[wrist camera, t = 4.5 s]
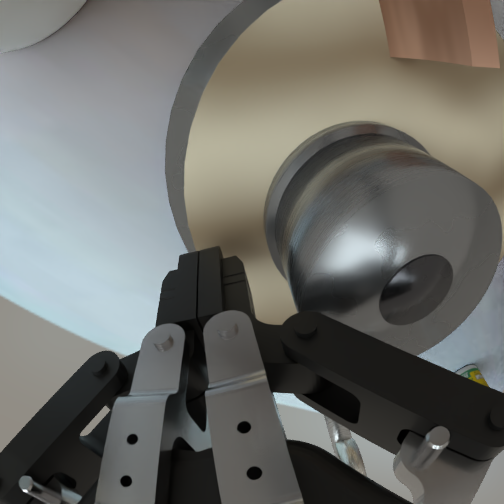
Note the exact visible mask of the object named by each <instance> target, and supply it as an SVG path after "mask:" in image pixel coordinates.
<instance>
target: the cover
mask: <svg viewBox="0 0 504 504" xmlns="http://www.w3.org/2000/svg"><path fill="white" fill-rule="evenodd" d="M263 222H264V232H265V238H266V241H267V245H268V248H269V251H270V254H271V257H272V260H273V262H274V264H275V266H276V268H277V269H278V270H279V272H280V273H281V275H282V276H283V277H284V278H285V279H286V280H287V281H288V285H289V288H290V291H291V294H292V297H293V300H294V303H295V307H296V310H297V313H299V312H304V311H314V312H319V313H321V314H324V315H326V316H328V317H330V318H332V319H334V320H337V321H339V322H341V323H343V324H345V325H348V326H350V327H352V328H354V329H356V330H359V331H361V332H363V333H365V334H367V335H370V336H372V337H374V338H376V339H378V340H381V341H383V342H385V343H387V344H390V345H392V346H394V347H396V348H399V349H401V350H403V351H406V352H408V353H410V354H412V355H415V356H417V355H419V354H421V353H423V352H425V351H426V350H428V349H430V348H431V347H433V346H435V345H436V344H438V343H439V342H440V341H442V340H443V339H444V338H446V337H447V336H448V335H449V334H451V333H452V332H453V331H454V330H455V329H456V328H457V327H458V326H459V325H460V324H461V323H462V322H463V321H464V320H465V319H466V318H467V317H468V316H469V315H470V314H471V312H472V311H473V310H474V309H475V307H476V306H477V305H478V303H479V302H480V300H481V299H482V297H483V296H484V294H485V293H486V291H487V289H488V287H489V285H490V283H491V281H492V279H493V276H494V274H495V272H496V269H497V266H498V262H499V259H500V254H501V249H502V224H501V219H500V215H499V212H498V209H497V206H496V205H495V203H494V201H493V199H492V198H491V196H490V195H489V194H488V193H487V192H486V191H485V190H484V189H483V188H482V187H480V186H479V185H478V184H476V183H475V182H473V181H472V180H470V179H469V178H467V177H466V176H464V175H462V174H461V173H459V172H458V171H456V170H454V169H453V168H451V167H449V166H448V165H446V164H444V163H443V162H441V161H439V160H438V159H436V158H434V157H432V156H431V155H430V154H429V153H428V151H427V150H426V149H425V148H424V147H423V146H422V145H421V144H420V143H419V142H418V141H417V140H415V139H414V138H413V137H411V136H409V135H408V134H406V133H404V132H402V131H400V130H398V129H396V128H393V127H391V126H388V125H386V124H383V123H378V122H373V121H350V122H344V123H340V124H336V125H333V126H330V127H328V128H325V129H323V130H321V131H319V132H317V133H316V134H314V135H312V136H310V137H309V138H308V139H306V140H305V141H304V142H302V143H301V144H300V145H299V146H298V147H297V148H296V149H295V150H294V151H292V152H291V153H290V154H289V156H288V157H287V158H286V159H285V161H284V162H283V163H282V165H281V166H280V168H279V169H278V171H277V173H276V174H275V176H274V178H273V180H272V182H271V185H270V187H269V190H268V193H267V197H266V200H265V206H264V214H263Z"/></svg>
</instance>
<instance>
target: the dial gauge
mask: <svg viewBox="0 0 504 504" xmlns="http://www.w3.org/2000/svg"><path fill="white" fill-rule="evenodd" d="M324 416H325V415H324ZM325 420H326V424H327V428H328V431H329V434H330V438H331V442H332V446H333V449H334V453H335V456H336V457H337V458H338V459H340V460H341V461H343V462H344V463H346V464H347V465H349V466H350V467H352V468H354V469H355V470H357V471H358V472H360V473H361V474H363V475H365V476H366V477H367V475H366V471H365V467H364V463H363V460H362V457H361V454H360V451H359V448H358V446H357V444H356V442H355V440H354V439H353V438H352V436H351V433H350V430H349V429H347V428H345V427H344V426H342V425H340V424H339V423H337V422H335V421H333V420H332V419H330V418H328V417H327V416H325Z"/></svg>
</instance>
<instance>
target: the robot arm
mask: <svg viewBox="0 0 504 504" xmlns="http://www.w3.org/2000/svg"><path fill="white" fill-rule="evenodd" d="M273 392H277V393H294V395H295V396H296V397H297V398H298V399H299V400H301V401H302V402H304V403H306V404H307V405H309V406H310V407H312V408H314V409H315V410H317V411H319V412H320V413H322V414H323V415H325V416H327V417H328V418H330V419H332V420H333V421H335V422H337V423H339V424H340V425H342V426H344V427H345V428H347V429H349V430H351V431H352V432H354V433H356V434H358V435H359V436H361V437H363V438H365V439H367V440H368V441H370V442H372V443H374V444H376V445H378V446H380V447H381V448H383V449H385V450H387V451H389V452H391V453H393V454H395V455H396V456H395V458H394V462H393V470H394V473H395V476H396V478H397V479H398V480H399V481H400V482H401V483H402V484H404V485H405V486H407V488H408V489H409V490H410V491H411V493H412V495H413V501H414V503H411V502H409V501H407V500H405V499H404V498H402V497H400V496H398V495H397V494H395V493H393V492H391V491H390V490H388V489H386V488H384V487H383V486H381V485H379V484H378V483H376V482H374V481H373V480H371V479H369V478H368V477H366V476H365V475H363V474H361V473H360V472H358V471H357V470H355V469H354V468H352V467H350V466H349V465H347V464H346V463H344V462H343V461H341V460H340V459H338V458H337V457H335V456H334V455H332V454H331V453H329V452H327V451H326V450H324V449H322V448H320V447H318V446H315V445H312V444H309V443H306V442H301V441H296V440H288V439H287V438H286V435H285V431H284V428H283V425H282V422H281V419H280V415H279V412H278V408H277V405H276V402H275V398H274V395H273ZM105 405H106V406H107V407H108V408H109V409H110V411H109V413H108V414H107V415H106V416H105V417H104V418H103V419H102V420H101V421H100V423H99V424H98V425H97V426H96V427H95V428H94V429H93V430H92V432H91V433H89V434H88V435H86V436H80V433H81V432H82V430H83V429H84V428H85V427H86V426H87V425H88V424H89V423H90V421H91V420H92V419H93V418H94V417H95V416H96V415H97V414H98V413H99V412H100V410H101V409H102V408H103V407H104V406H105ZM502 450H504V393H502V392H500V391H497V390H495V389H492V388H490V387H487V386H485V385H483V384H480V383H478V382H475V381H473V380H471V379H468V378H466V377H463V376H461V375H459V374H456V373H454V372H452V371H449V370H447V369H445V368H442V367H440V366H438V365H435V364H433V363H431V362H428V361H426V360H424V359H421V358H419V357H417V356H415V355H412V354H410V353H408V352H406V351H403V350H401V349H399V348H396V347H394V346H392V345H390V344H387V343H385V342H383V341H381V340H378V339H376V338H374V337H372V336H370V335H367V334H365V333H363V332H361V331H359V330H356V329H354V328H352V327H350V326H348V325H345V324H343V323H341V322H339V321H337V320H334V319H332V318H330V317H328V316H326V315H324V314H321V313H319V312H314V311H304V312H299V313H296V314H294V315H292V316H290V317H289V318H288V319H286V320H285V322H284V323H283V324H282V325H272V324H266V323H263V322H261V321H259V320H257V319H256V315H255V310H254V304H253V299H252V293H251V290H250V286H249V282H248V279H247V275H246V272H245V268H244V264H243V262H242V261H241V260H240V259H239V258H238V257H237V256H236V255H235V256H231V257H227V258H224V257H223V254H222V251H221V248H220V246H215V247H211V248H207V249H203V250H200V251H195V252H191V253H187V254H183V255H180V256H179V263H178V269H177V270H173V271H169V273H168V274H167V276H166V277H165V279H164V280H163V282H162V288H161V294H160V301H159V307H158V313H157V320H156V327H155V328H154V329H152V330H151V331H150V332H148V333H147V335H146V336H145V337H144V339H143V341H142V345H141V349H140V350H139V351H137V352H135V353H133V354H131V355H129V356H126V357H124V358H122V359H119V357H118V356H117V355H116V354H115V353H114V352H111V351H102V352H99V353H96V354H95V355H93V356H92V357H90V358H89V359H88V360H87V361H86V362H85V363H84V364H83V365H82V366H81V367H80V369H78V370H77V372H75V373H74V374H73V376H72V377H71V378H70V379H69V380H68V381H67V382H66V383H65V384H64V385H63V386H62V387H61V388H60V389H59V390H58V391H57V392H56V393H55V394H54V395H53V397H51V398H50V400H49V401H48V402H47V403H46V404H45V405H44V406H43V407H42V408H41V409H40V410H39V411H38V412H37V413H36V414H35V416H34V417H33V418H32V419H31V420H30V421H29V422H28V423H27V424H26V425H25V427H23V428H22V430H21V431H20V432H19V433H18V434H17V435H16V436H15V437H14V438H13V439H12V440H11V442H10V443H9V444H8V445H7V446H6V447H5V448H4V449H3V451H2V452H1V453H0V504H470V503H471V502H472V500H473V498H474V496H475V494H476V493H477V491H478V489H479V487H480V484H481V483H482V481H483V479H484V477H485V475H486V472H487V471H488V469H489V466H490V464H491V462H492V460H493V459H494V458H495V457H496V456H497V455H498V454H499V453H500V452H501V451H502Z"/></svg>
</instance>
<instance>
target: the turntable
mask: <svg viewBox="0 0 504 504" xmlns="http://www.w3.org/2000/svg"><path fill="white" fill-rule="evenodd" d="M350 121H373V122H378V123H383V124H386V125H388V126H391V127H393V128H396V129H398V130H400V131H402V132H404V133H406V134H408V135H409V136H411V137H413V138H414V139H415V140H417V141H418V142H419V143H420V144H421V145H422V146H423V147H424V148H425V149H426V150H427V151H428V153H429V154H430V155H431V156H432V157H434V158H436V159H438V160H439V161H441V162H443V163H444V164H446V165H448V166H449V167H451V168H453V169H454V170H456V171H458V172H459V173H461V174H462V175H464V176H466V177H467V178H469V179H470V180H472V181H473V182H475V183H476V184H478V185H479V186H480V187H482V188H483V189H484V190H485V191H486V192H487V193H488V194H489V195H490V196H491V198H492V199H493V201H494V203H495V205H496V206H497V209H498V212H499V215H500V219H501V224H502V249H501V254H500V259H499V262H500V260H501V259H502V257H503V256H504V40H503V39H502V38H501V36H500V35H499V34H498V32H497V31H496V30H495V25H494V19H493V14H492V8H491V4H490V0H282V1H280V2H279V3H277V4H276V5H274V6H273V7H271V8H270V9H268V10H267V11H266V12H265V13H263V14H262V15H261V16H260V17H259V18H258V19H257V20H256V21H255V22H253V23H252V24H251V25H250V26H249V27H248V28H247V29H246V30H245V31H244V32H243V33H242V34H241V35H240V36H239V37H238V39H237V40H236V41H235V42H234V44H233V45H232V46H231V48H230V49H229V50H228V51H227V53H226V54H225V55H224V57H223V58H222V59H221V61H220V62H219V63H218V65H217V67H216V69H215V71H214V73H213V74H212V76H211V78H210V80H209V82H208V84H207V86H206V88H205V90H204V92H203V94H202V96H201V99H200V102H199V105H198V108H197V111H196V114H195V117H194V119H193V122H192V126H191V129H190V134H189V140H188V145H187V151H186V157H185V166H184V198H185V205H186V213H187V220H188V226H189V229H190V232H191V236H192V239H193V242H194V246H195V249H196V251H200V250H203V249H207V248H211V247H215V246H220V248H221V251H222V254H223V257H224V258H227V257H231V256H235V255H236V256H237V257H238V258H239V259H240V260H241V261H242V262H243V264H244V268H245V272H246V275H247V279H248V282H249V286H250V290H251V293H252V299H253V304H254V310H255V315H256V319H257V320H259V321H261V322H263V323H266V324H272V325H282V324H283V323H284V322H285V320H286V319H288V318H289V317H290V316H292V315H294V314H296V313H297V310H296V307H295V303H294V300H293V297H292V294H291V291H290V288H289V285H288V281H287V280H286V279H285V278H284V277H283V276H282V275H281V273H280V272H279V270H278V269H277V268H276V266H275V264H274V262H273V260H272V257H271V254H270V251H269V248H268V245H267V241H266V238H265V232H264V222H263V214H264V206H265V200H266V197H267V193H268V190H269V187H270V185H271V182H272V180H273V178H274V176H275V174H276V173H277V171H278V169H279V168H280V166H281V165H282V163H283V162H284V161H285V159H286V158H287V157H288V156H289V154H290V153H291V152H292V151H294V150H295V149H296V148H297V147H298V146H299V145H300V144H301V143H302V142H304V141H305V140H306V139H308V138H309V137H310V136H312V135H314V134H316V133H317V132H319V131H321V130H323V129H325V128H328V127H330V126H333V125H336V124H340V123H344V122H350ZM499 262H498V263H499Z"/></svg>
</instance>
